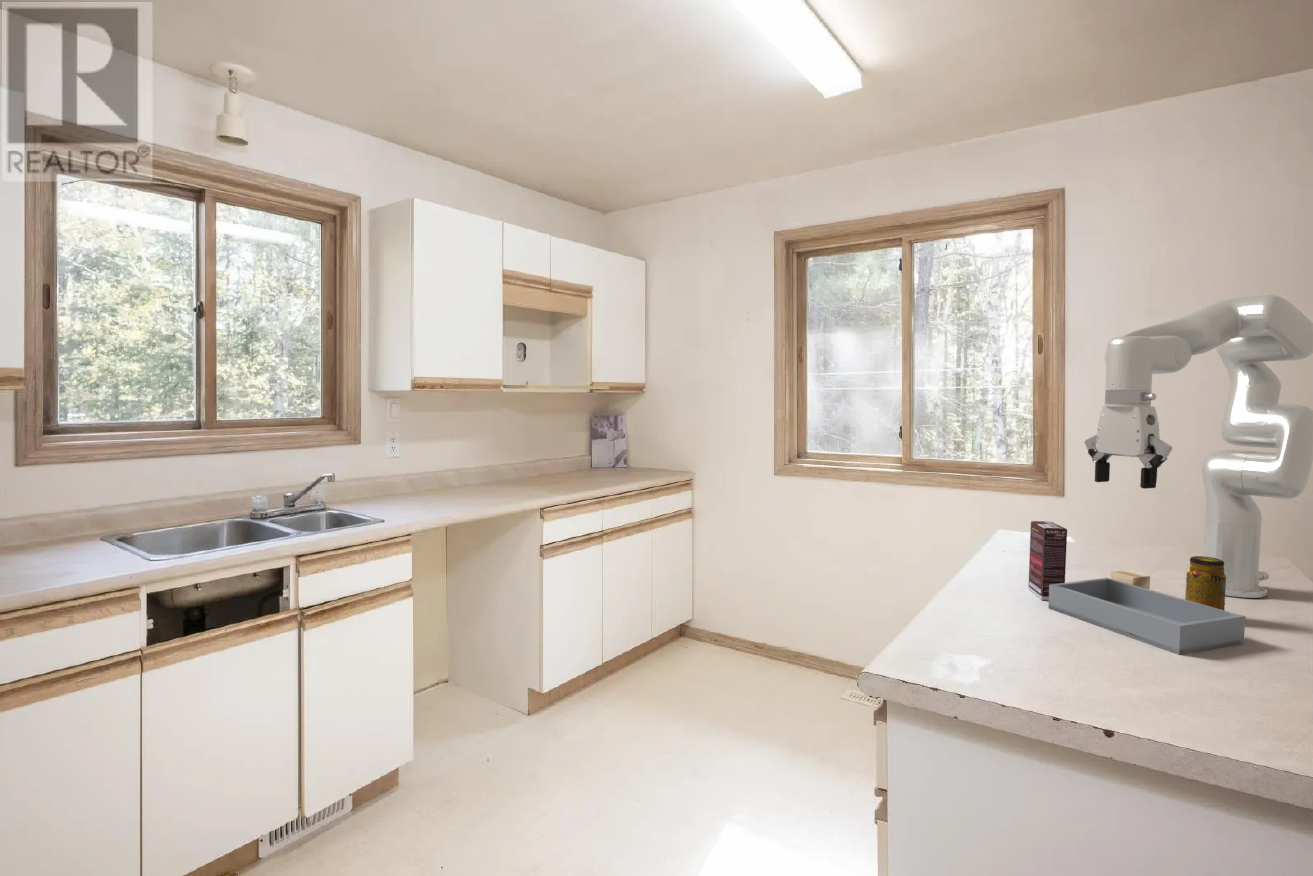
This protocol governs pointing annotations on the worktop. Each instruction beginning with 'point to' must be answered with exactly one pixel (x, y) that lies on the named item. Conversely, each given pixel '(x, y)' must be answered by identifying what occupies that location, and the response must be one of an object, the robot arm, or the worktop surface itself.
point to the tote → (1148, 615)
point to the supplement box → (1046, 557)
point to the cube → (1132, 578)
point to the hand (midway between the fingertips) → (1124, 484)
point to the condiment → (1206, 582)
